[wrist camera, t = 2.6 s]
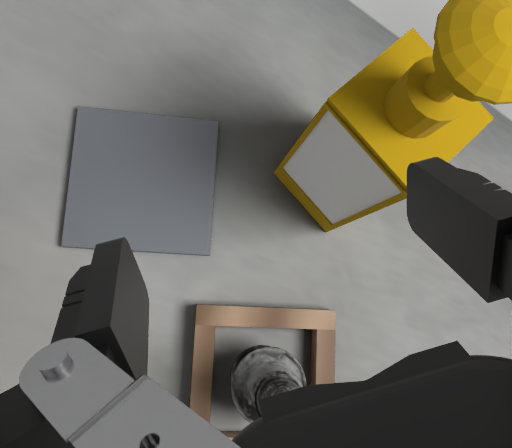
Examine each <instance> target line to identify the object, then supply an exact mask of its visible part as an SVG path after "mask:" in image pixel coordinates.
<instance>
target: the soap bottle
mask: <svg viewBox="0 0 512 448" xmlns="http://www.w3.org/2000/svg"><path fill="white" fill-rule="evenodd" d="M434 40H435V44H434V50H432V49H431V47H430V46H429V45H428V44H427V43H426V42H425V41H424V40H423V38H422V37H421V36H420V35H419V34H418V33H417V32H416V31H415V29H414V28H412V29H411V30H409V31H408V32H407V33H406V34H405V35H404V36H402V37H401V38H400V39H399V40H398V41H396V42H395V43H394V44H393V45H392V46H390V47H389V48H388V49H387V50H386V51H384V52H383V53H382V54H381V55H380V56H378V57H377V58H376V59H375V60H374V61H372V62H371V63H370V64H369V65H368V66H366V67H365V68H364V69H363V70H362V71H360V72H359V73H358V74H357V75H356V76H354V77H353V78H352V79H351V80H350V81H348V82H347V83H346V84H345V85H344V86H342V87H341V88H340V89H339V90H338V91H336V92H335V93H334V94H333V95H332V96H330V97H329V98H328V99H327V102H325V103H324V105H323V106H322V108H321V109H320V110H319V112H318V113H317V114H316V116H315V117H314V118H313V120H312V121H311V123H310V124H309V125H308V127H307V128H306V129H305V131H304V132H303V133H302V135H301V136H300V137H299V139H298V140H297V142H296V143H295V144H294V146H293V147H292V148H291V150H290V151H289V152H288V154H287V155H286V157H285V158H284V159H283V161H282V162H281V163H280V165H279V166H278V167H277V169H276V170H275V172H274V174H275V175H276V176H277V177H278V179H279V180H280V181H281V182H282V183H283V184H284V185H285V186H286V188H287V189H288V190H289V191H290V192H291V193H292V194H293V195H294V197H295V198H296V199H297V200H298V201H299V202H300V203H301V204H302V206H303V207H304V208H305V209H306V210H307V211H308V212H309V214H310V215H311V216H312V217H313V218H314V219H315V220H316V221H317V223H318V224H319V225H320V226H321V227H322V228H323V229H324V230H325V232H328V231H330V230H332V229H335V228H337V227H339V226H342V225H344V224H347V223H349V222H351V221H354V220H356V219H358V218H361V217H363V216H365V215H368V214H370V213H373V212H375V211H377V210H380V209H382V208H384V207H387V206H389V205H392V204H394V203H396V202H399V201H401V200H403V199H406V198H407V168H408V166H409V164H410V163H413V162H417V161H421V160H425V159H429V158H433V157H439V158H441V159H443V160H444V161H446V162H447V163H448V162H449V161H450V160H451V159H452V158H453V157H454V156H455V155H456V154H457V153H458V152H459V151H460V150H461V149H462V148H463V147H465V146H466V145H467V144H468V143H469V142H470V141H471V140H472V139H473V138H474V137H475V136H476V135H477V134H478V133H479V132H480V131H481V130H482V129H483V128H484V127H485V126H486V125H487V124H488V123H489V122H490V121H492V120H493V119H494V118H493V117H492V116H491V115H490V113H489V112H488V111H487V110H486V109H485V108H484V107H483V106H482V104H481V103H480V102H479V101H485V102H488V103H491V104H494V105H495V104H508V103H512V0H449V1H448V2H447V4H446V5H445V6H444V8H443V9H442V10H441V12H440V13H439V14H438V17H437V23H436V28H435V33H434Z"/></svg>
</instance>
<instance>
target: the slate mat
mask: <svg viewBox="0 0 512 448" xmlns="http://www.w3.org/2000/svg"><path fill="white" fill-rule="evenodd" d="M218 122H219V121H213V120H204V119H194V118H185V117H175V116H166V115H156V114H147V113H137V112H128V111H118V110H109V109H99V108H90V107H80V106H78V109H77V118H76V126H75V134H74V143H73V151H72V160H71V168H70V177H69V185H68V193H67V202H66V210H65V219H64V227H63V235H62V244H61V246H62V247H73V248H89V249H95V246H96V244H99V243H103V242H107V241H111V240H114V239H118V238H122V237H125V238H126V239H127V241H128V243H129V245H130V248H131V250H132V251H140V252H157V253H173V254H190V255H207V256H210V247H211V232H212V216H213V200H214V185H215V169H216V153H217V138H218Z"/></svg>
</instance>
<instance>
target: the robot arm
mask: <svg viewBox="0 0 512 448" xmlns="http://www.w3.org/2000/svg"><path fill="white" fill-rule="evenodd" d="M407 217H408V221H409V224H410V226H411V228H412V230H413V231H414V232H415V233H416V234H417V235H418V236H419V237H420V238H421V239H422V240H423V241H424V242H425V243H426V244H427V245H428V246H429V247H430V248H431V249H432V250H433V251H434V252H435V253H436V254H437V255H438V256H439V257H441V258H442V259H443V260H444V261H445V262H446V263H447V264H448V265H449V266H450V267H451V268H452V269H453V270H454V271H455V272H456V273H457V274H458V275H459V276H460V277H461V278H462V279H463V280H464V281H465V282H467V283H468V284H469V285H470V286H471V287H472V288H473V289H474V290H475V291H476V292H477V293H478V294H479V295H480V296H481V297H482V298H483V299H484V300H485V301H486V302H487V303H489V302H493V301H496V300H500V299H503V298H507V297H508V298H510V299H511V300H512V193H510V192H508V191H506V190H502V188H501V187H500V186H498V185H496V184H495V183H491V181H489V180H488V179H486V178H484V177H483V176H481V175H479V174H478V173H474V172H470V171H467V170H463V169H459V168H458V169H457V168H456V167H454V166H452V165H451V164H449V163H447V162H446V161H444V160H443V159H441V158H439V157H433V158H429V159H425V160H421V161H417V162H413V163H410V164H409V166H408V168H407ZM65 295H66V297H64V301H63V304H62V307H63V308H61V311H60V314H59V317H58V321H57V324H56V327H55V331H54V334H53V337H52V341H51V344H50V345H48V346H46V347H45V348H43V349H41V350H40V351H39V352H37V353H36V354H35V355H34V356H33V357H32V358H31V359H30V360H29V361H28V362H27V363H26V365H25V366H24V367H23V369H22V371H21V373H20V377H19V384H18V385H16V386H14V387H13V388H11V389H9V390H7V391H5V392H3V393H1V394H0V448H512V303H511V309H510V359H508V358H503V357H496V356H484V355H469V354H468V353H467V352H466V351H465V349H464V348H463V347H462V346H461V345H460V343H459V342H458V341H455V342H452V343H448V344H445V345H441V346H438V347H435V348H431V349H428V350H425V351H421V352H418V353H415V354H411V355H409V356H407V357H405V358H404V359H402V360H400V361H399V362H397V363H395V364H394V365H392V366H390V367H388V368H387V369H385V370H383V371H382V372H380V373H378V374H377V375H375V376H373V377H372V378H370V379H368V380H365V381H359V382H345V383H330V384H316V385H307V386H303V387H300V388H297V389H293V390H290V391H287V392H283V393H280V394H277V395H273V396H270V397H266V398H263V399H260V400H258V401H259V406H260V410H261V414H262V417H260V418H259V419H257V420H255V421H254V422H252V423H251V424H249V425H248V426H247V427H245V428H244V429H243V430H242V431H241V432H240V433H239V434H237V435H236V436H235V437H234V438H233V439H232V440H230V439H229V438H228V437H226V436H225V435H224V434H222V433H221V432H220V431H219V430H217V429H216V428H215V427H213V426H212V425H211V424H209V423H208V422H207V421H206V420H204V419H203V418H202V417H200V416H199V415H198V414H196V413H195V412H194V411H193V410H191V409H190V408H189V407H187V406H186V405H185V404H183V403H182V402H181V401H180V400H178V399H177V398H176V397H174V396H173V395H172V394H170V393H169V392H168V391H166V390H165V389H164V388H163V387H161V386H160V385H159V384H157V383H156V382H155V381H153V380H152V379H151V378H149V377H148V376H147V363H148V326H149V298H148V293H147V289H146V286H145V283H144V280H143V277H142V275H141V272H140V270H139V267H138V265H137V263H136V260H135V258H134V255H133V253H132V250H131V248H130V245H129V243H128V241H127V239H126V238H125V237H122V238H118V239H114V240H111V241H107V242H103V243H99V244H96V246H95V250H94V254H93V258H92V262H91V265H87V266H83V267H80V269H79V270H78V271H77V272H76V273H75V275H74V276H73V277H72V278H71V279H70V281H69V284H68V287H67V290H66V294H65Z"/></svg>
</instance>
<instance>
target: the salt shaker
mask: <svg viewBox="0 0 512 448" xmlns="http://www.w3.org/2000/svg"><path fill="white" fill-rule="evenodd" d="M230 381H231V394H232V400H233V402H234V404H235V407H236V409H237V411H238V412H239V413H240V414H241V415H242V417H243V418H244V419H246V420H247V421H249V422H250V423H252V422H254V421H255V420H257V419H259V418H260V417H262V414H261V410H260V406H259V401H258V400H260V399H263V398H266V397H270V396H273V395H277V394H280V393H283V392H287V391H290V390H293V389H297V388H300V387H303V386H306V385H307V383H306V377H305V373H304V371H303V369H302V366H301V364H300V363H299V362H298V361H297V359H296V358H295V357H294V356H293V355H291V354H290V353H288V352H287V351H285V350H283V349H280V348H277V347H270V346H263V345H259V346H254V347H251V348H249V349H247V350H245V351H244V352H243V353H242V354H241V355H239V356H238V358H237V359H236V361H235V362H234V364H233V367H232V370H231V378H230Z"/></svg>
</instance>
